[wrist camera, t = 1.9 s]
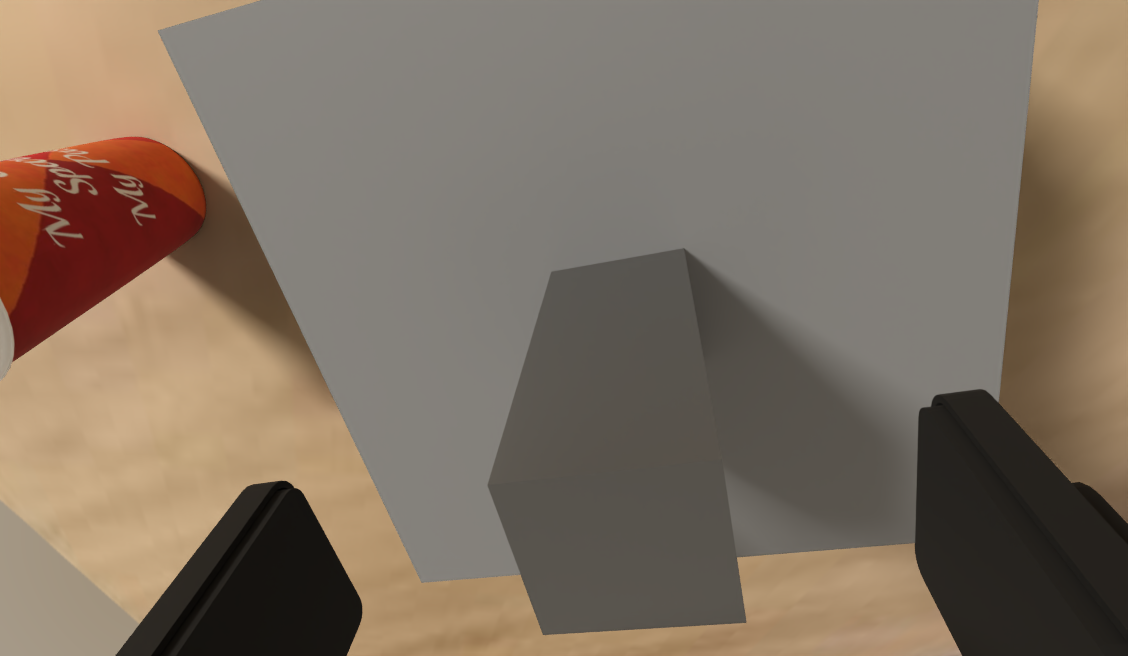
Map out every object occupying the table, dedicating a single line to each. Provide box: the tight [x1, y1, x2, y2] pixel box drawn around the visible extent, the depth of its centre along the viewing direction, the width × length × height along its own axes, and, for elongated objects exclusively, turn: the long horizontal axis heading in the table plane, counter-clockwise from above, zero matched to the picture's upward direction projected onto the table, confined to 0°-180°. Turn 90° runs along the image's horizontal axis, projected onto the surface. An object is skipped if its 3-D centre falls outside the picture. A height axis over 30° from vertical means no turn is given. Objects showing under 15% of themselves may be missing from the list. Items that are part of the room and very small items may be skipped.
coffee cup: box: [0, 137, 206, 381], centre depth 28 cm, size 8×8×15 cm
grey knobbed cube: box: [158, 0, 1039, 635], centre depth 19 cm, size 16×16×25 cm
